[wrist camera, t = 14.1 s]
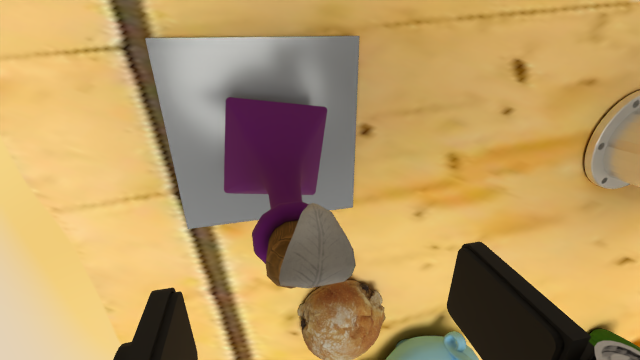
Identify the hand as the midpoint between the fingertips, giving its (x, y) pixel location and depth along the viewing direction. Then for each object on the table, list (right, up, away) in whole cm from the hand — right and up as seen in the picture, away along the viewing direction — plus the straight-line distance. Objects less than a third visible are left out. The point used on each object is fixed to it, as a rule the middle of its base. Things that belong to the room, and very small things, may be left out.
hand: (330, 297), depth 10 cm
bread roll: (+2, -12, +29) cm, 31 cm away
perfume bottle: (-5, +8, +17) cm, 19 cm away
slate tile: (-5, +8, +17) cm, 20 cm away
